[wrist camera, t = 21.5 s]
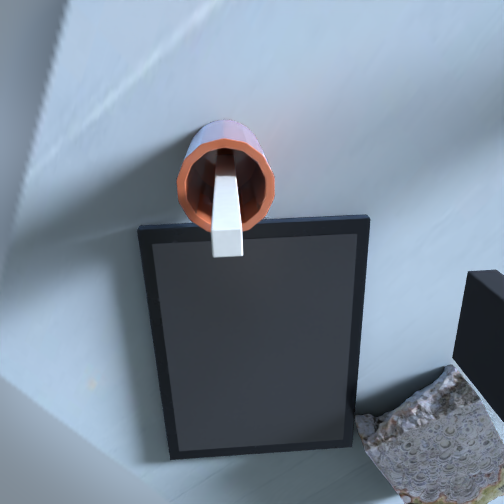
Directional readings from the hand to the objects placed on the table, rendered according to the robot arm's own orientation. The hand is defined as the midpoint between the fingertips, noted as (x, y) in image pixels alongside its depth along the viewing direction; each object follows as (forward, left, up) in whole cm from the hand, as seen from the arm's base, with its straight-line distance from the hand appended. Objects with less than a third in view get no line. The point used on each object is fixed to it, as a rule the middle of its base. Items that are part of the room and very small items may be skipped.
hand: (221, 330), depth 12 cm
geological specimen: (+19, -28, -23) cm, 41 cm away
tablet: (+2, -17, -23) cm, 29 cm away
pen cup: (0, 0, -23) cm, 23 cm away
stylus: (0, 0, -22) cm, 22 cm away
